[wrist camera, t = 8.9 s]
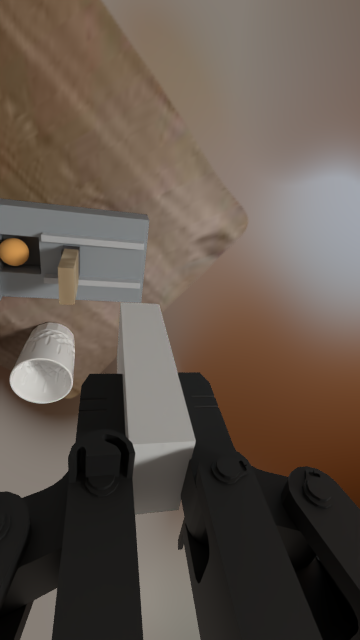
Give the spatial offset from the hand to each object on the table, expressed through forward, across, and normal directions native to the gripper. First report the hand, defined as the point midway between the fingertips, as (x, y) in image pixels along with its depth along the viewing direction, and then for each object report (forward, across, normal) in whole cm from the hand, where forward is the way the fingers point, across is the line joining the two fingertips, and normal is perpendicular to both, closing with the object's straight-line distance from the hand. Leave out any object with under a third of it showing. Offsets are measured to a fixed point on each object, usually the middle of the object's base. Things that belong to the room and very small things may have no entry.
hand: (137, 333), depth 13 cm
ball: (+32, -13, -9) cm, 36 cm away
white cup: (+35, -9, -24) cm, 43 cm away
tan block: (+31, -6, -9) cm, 33 cm away
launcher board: (+34, -6, -9) cm, 36 cm away
